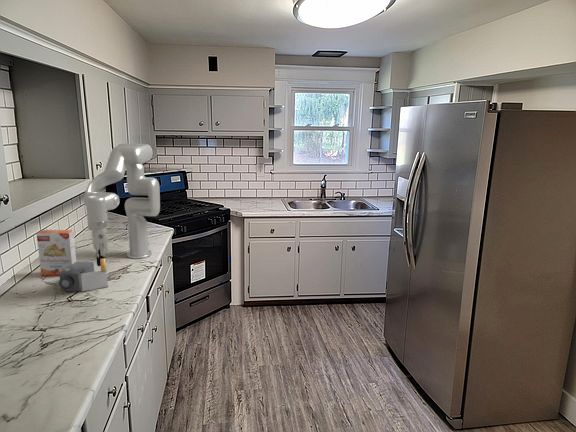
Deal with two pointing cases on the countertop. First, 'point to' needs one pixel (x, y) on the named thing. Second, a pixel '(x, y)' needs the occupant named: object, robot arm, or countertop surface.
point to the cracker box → (55, 251)
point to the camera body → (74, 275)
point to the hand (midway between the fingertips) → (101, 265)
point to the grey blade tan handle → (94, 278)
